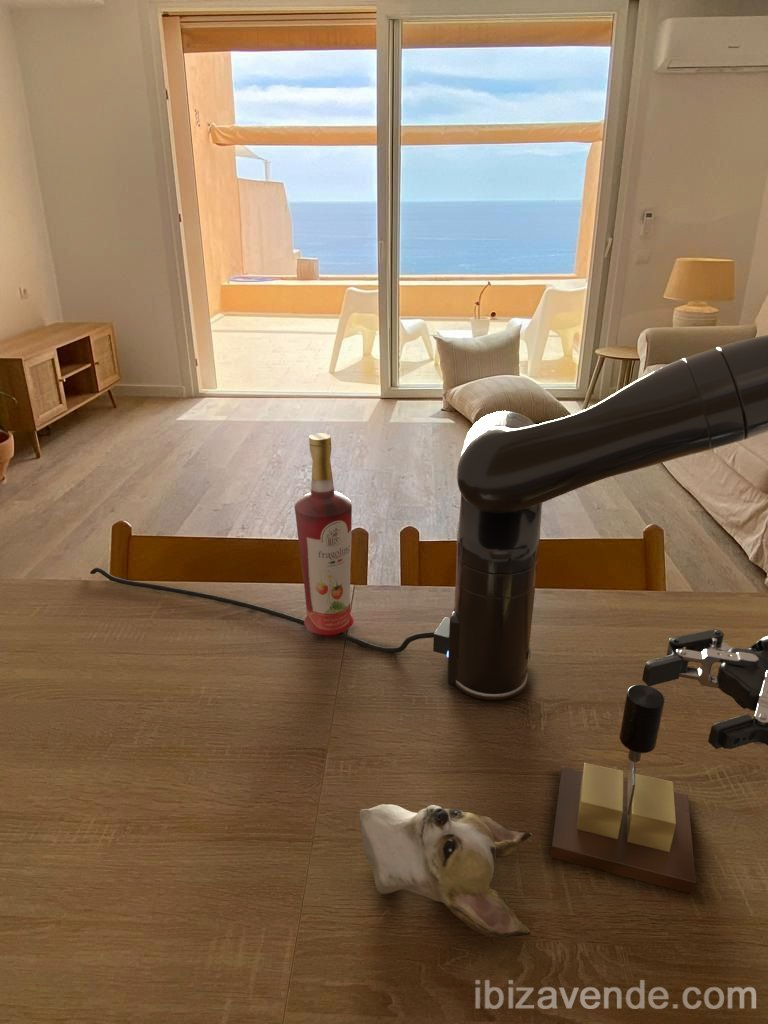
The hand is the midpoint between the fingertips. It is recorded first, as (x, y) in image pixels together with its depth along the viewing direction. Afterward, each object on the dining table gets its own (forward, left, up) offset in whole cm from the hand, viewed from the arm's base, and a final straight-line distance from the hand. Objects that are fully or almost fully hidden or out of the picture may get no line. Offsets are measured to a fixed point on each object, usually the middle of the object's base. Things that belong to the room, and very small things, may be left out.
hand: (677, 704), depth 61 cm
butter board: (-3, -2, -14) cm, 14 cm away
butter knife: (-3, -2, -9) cm, 9 cm away
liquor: (-42, +21, -14) cm, 49 cm away
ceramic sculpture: (-18, -13, -14) cm, 26 cm away
